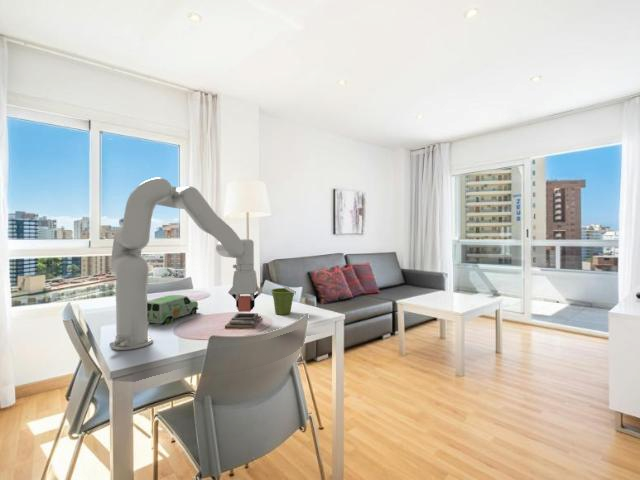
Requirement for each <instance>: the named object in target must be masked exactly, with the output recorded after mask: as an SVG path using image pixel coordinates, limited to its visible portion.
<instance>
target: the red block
mask: <svg viewBox="0 0 640 480" xmlns="http://www.w3.org/2000/svg"><path fill="white" fill-rule="evenodd" d="M250 301H251V296H250V295H240V297H239V298H238V313H241V312H242V313H245V312H246V313H249V312H252V310H251V309H250Z"/></svg>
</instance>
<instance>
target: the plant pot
mask: <svg viewBox="0 0 640 480" xmlns="http://www.w3.org/2000/svg"><path fill="white" fill-rule="evenodd" d="M270 292H271V294H272V299H273V304H274V312H275V314H276V315H279V316H282V315H283V316H285V315H290V314H291V311H292V304H293V300H294V296H295V292H293V291H291V290H289V289H288V288H286V287H281V288H279V287H278V288H272V289H271V290H270Z"/></svg>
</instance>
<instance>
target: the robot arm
mask: <svg viewBox="0 0 640 480" xmlns="http://www.w3.org/2000/svg"><path fill="white" fill-rule="evenodd" d="M156 206H162V207H165V208H166V207H168V208H173V209H180V210H185V212H186V213H187V214H188V216H189V217H190V218H191V219H192V221H193V222H194V223H195V225H196V226H197V227H198V228H199V229H200V230H202V231H203V232H204V233H207V234H209V235H211V236H212V237H213V238H215V239H216V240H217V241H218V242H217V243H216V246H215V251H216V253H217V254H218V255H220V256H222V257H226V258H232V259H236V260H235V264H232V268H233V269H235V270H234V271H233V277H232V287H231V288H230V289H229V291H228V292H227V293H228V294H229V295H230V296H232V297H233V299H235V303H236V305H235V308H236V310H238V298H239V297H240V296H241V295H249V296H251V301H250V309H251V311H252V310H254V308H255V303H256V302H255V300H256V299H257V297H259V296H260V295H261V294H262V293H263V290H262V289H261V288H260V286H259V285H258V279H257V272H256V270H255V259H254V257H255V256H254V255H255V253H254V251H255V249H254V248H255V247H254V245H255V244H254V241H253V239H250V238H249V239H248V238H247V239H246V238H245V239H244V238H240V237H239V236H238V233H236V232H235V230H234V229H233V228H232V227H231V226H230V225H229V224H227V223H226V222H225V220H223V219H222V218H221V217H220V216H218V214H217V213H216V212H215V211H214V210H213V208H212V207H211V205H209V203H208V202H207V200H206V199H205V198H204V196H203V195H202V193H201V192H200V191H199V190H198V189H197V188H196V187H194V186H191V185H190V186H189V185H186V186H182V187H176V186H172V185H171V183H170V181H169V180H167V179H165V178H163V177H154V178H151V179H148V180H145V181H143V182H141V183H139V185H137V186H136V187H135V188H134V189H133V190H132V192H131V193H130V194H129V196H128V197H127V200H126V205H125V210H124V215H123V221H122V225H121V226H119V227H118V228H117V230H116V232H115V233H114V236H113V237H114V238H113V242H112V243H113V244H112V250H111V258H110V269H111V272H112V274H113V275H114V276H116V283H115V310H116V311H115V318H116V321H115V322H116V324H115V326H116V327H115V328H116V334H115V340H113V341H111V342H110V343H109V348H110V349H113V350H116V351H129V350H137V349H140V348H145V347H146V346H149V345H151V344H152V343H153V337H152V336H151V335H150V336H149V335H148V334H149V333H148V331H149V330H148V328H149V327H148V326H149V325H148V321H147V301H148V280H149V265H148V263H147V261H146V259H144V258H143V257H142V250H143V249H145V248H146V247H147V245H149V242H150V236H151V235H150V234H151V233H150V232H151V225H152V217H153V213H154V210H155V208H156Z"/></svg>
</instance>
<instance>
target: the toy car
mask: <svg viewBox="0 0 640 480" xmlns="http://www.w3.org/2000/svg"><path fill="white" fill-rule="evenodd" d="M198 306H199V303H198V301H196V300H191V299H190V298H189V297H188V296H187V295H183V294H172V295H165V296H161V297H158V298H154V299H152V300H147V321H148V323H149V324H150V323H151V324H162V323H163V324H164V325H169V324H172V322H173V320H174V319H178V318H180V317H183V316H186V315H188V314H189V315H190V316H193V315H196V314H197V312H198V310H199V307H198Z"/></svg>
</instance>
